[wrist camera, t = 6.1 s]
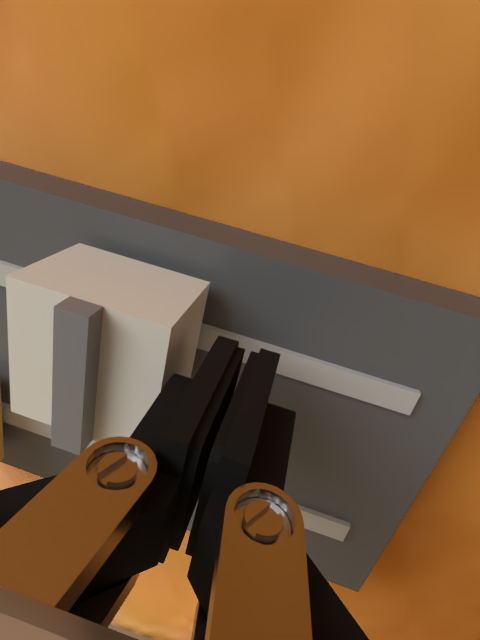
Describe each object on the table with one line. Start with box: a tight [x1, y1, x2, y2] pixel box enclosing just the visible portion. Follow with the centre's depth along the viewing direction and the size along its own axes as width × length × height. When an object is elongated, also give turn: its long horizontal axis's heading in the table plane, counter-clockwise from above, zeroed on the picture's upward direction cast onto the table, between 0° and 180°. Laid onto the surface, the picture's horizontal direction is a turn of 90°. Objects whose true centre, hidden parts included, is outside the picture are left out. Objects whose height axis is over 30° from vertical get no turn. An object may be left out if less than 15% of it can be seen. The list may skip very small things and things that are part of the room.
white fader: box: [6, 243, 210, 455], centre depth 11 cm, size 4×4×4 cm
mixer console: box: [0, 161, 480, 592], centre depth 15 cm, size 20×12×2 cm, turn 77°
